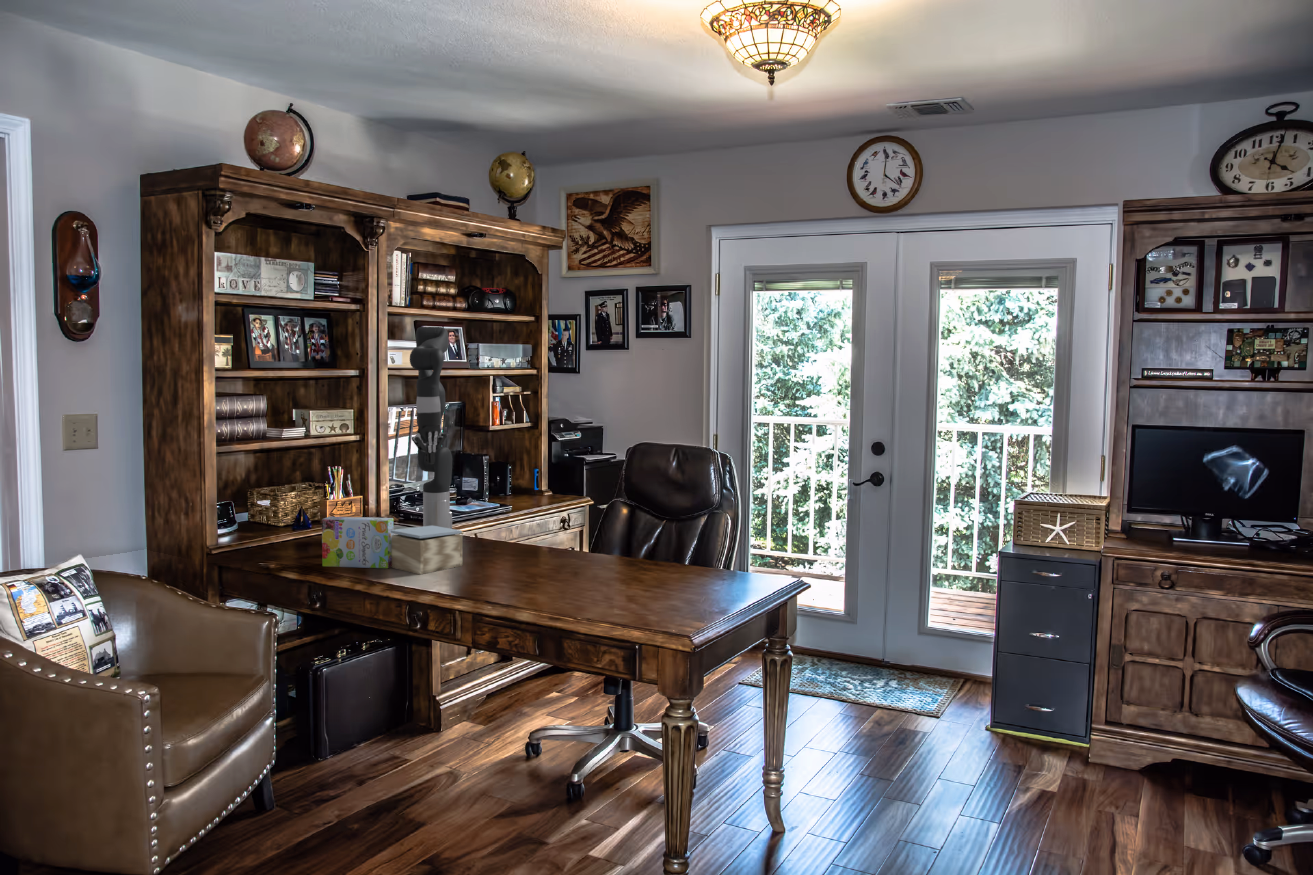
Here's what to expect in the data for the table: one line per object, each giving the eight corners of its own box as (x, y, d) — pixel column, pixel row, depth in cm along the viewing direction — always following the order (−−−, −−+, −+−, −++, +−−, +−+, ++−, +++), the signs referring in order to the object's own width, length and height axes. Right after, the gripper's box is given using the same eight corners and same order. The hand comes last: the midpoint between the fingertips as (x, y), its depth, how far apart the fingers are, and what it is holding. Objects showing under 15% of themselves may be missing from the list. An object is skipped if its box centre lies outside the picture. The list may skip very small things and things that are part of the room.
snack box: (394, 565, 291) (394, 517, 290) (387, 569, 286) (387, 520, 284) (329, 563, 293) (328, 515, 292) (321, 566, 288) (320, 518, 286)
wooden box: (433, 559, 300) (433, 528, 299) (462, 565, 291) (462, 534, 290) (391, 567, 287) (391, 535, 286) (420, 574, 279) (420, 541, 278)
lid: (434, 529, 299) (434, 525, 299) (463, 534, 291) (463, 530, 291) (390, 534, 286) (390, 530, 286) (419, 539, 278) (419, 535, 277)
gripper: (437, 408, 308) (438, 460, 310) (404, 411, 297) (406, 465, 299) (452, 409, 303) (453, 462, 305) (419, 412, 293) (421, 467, 295)
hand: (430, 463), depth 302 cm, fingers closed
